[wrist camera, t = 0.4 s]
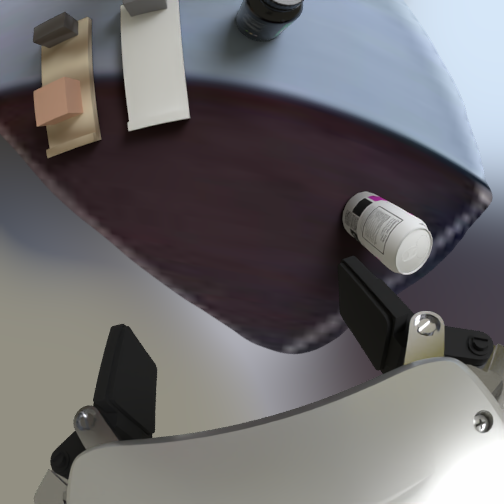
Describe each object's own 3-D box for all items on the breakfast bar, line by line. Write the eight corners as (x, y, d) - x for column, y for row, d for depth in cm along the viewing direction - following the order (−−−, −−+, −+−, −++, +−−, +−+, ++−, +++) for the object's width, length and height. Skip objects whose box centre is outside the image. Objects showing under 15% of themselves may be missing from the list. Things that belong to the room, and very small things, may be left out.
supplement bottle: (287, 40, 30) (321, 14, 19) (240, 44, 29) (258, 14, 19) (277, 3, 26) (307, -31, 16) (231, 6, 26) (245, -32, 15)
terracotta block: (50, 93, 25) (33, 91, 20) (79, 80, 25) (64, 76, 21) (54, 124, 27) (36, 126, 23) (83, 113, 28) (67, 113, 23)
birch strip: (46, 40, 21) (25, 31, 15) (91, 20, 22) (75, 6, 16) (56, 155, 30) (34, 163, 25) (101, 139, 31) (83, 143, 25)
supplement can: (374, 183, 43) (434, 214, 30) (381, 224, 47) (434, 263, 34) (335, 200, 43) (390, 238, 30) (345, 241, 47) (393, 287, 34)
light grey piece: (123, 9, 22) (111, -8, 17) (178, -4, 23) (175, -24, 18) (133, 130, 32) (120, 132, 26) (190, 118, 33) (188, 117, 27)
